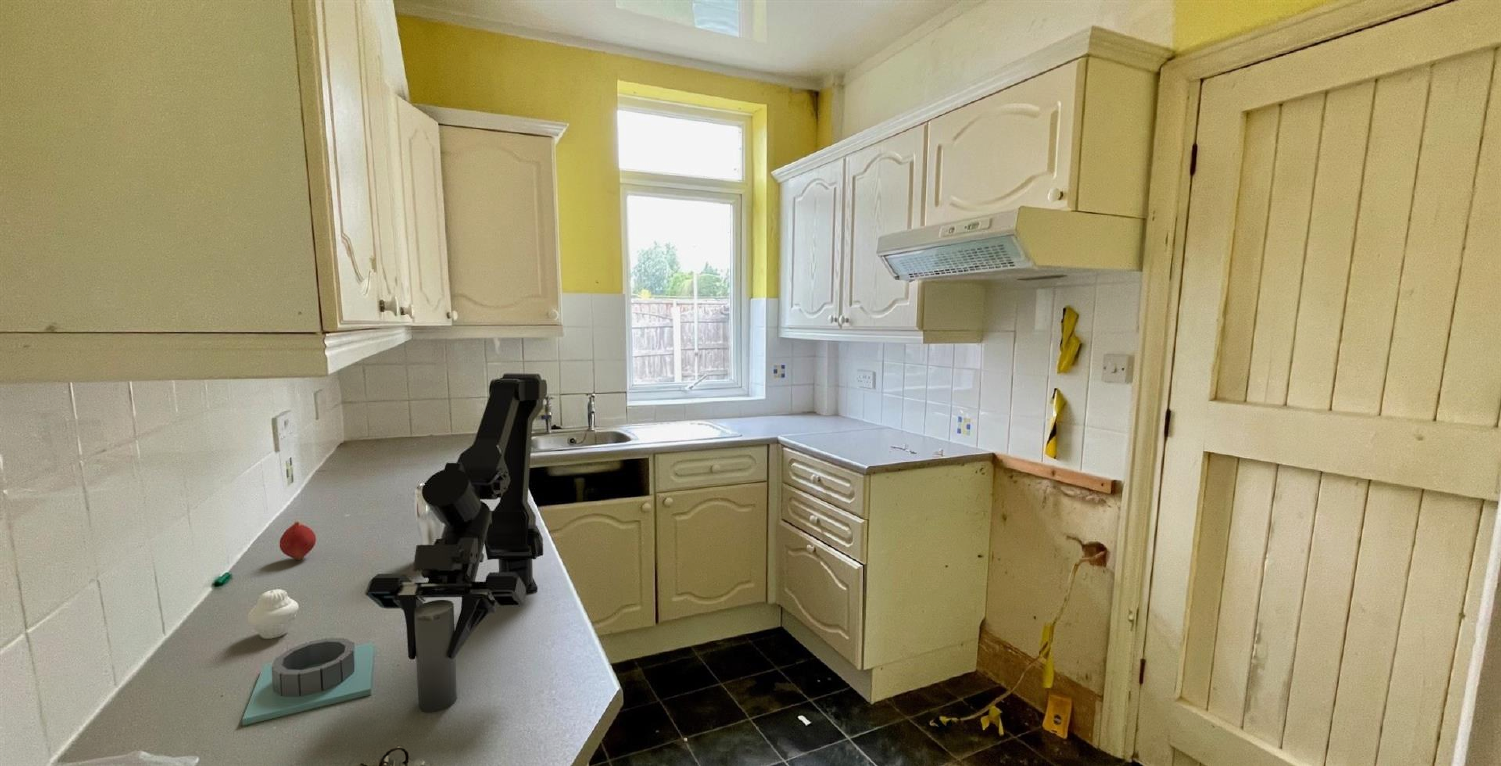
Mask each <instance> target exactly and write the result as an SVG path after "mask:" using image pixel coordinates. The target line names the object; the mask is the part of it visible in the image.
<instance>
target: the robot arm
mask: <svg viewBox="0 0 1501 766" xmlns="http://www.w3.org/2000/svg"><path fill="white" fill-rule="evenodd" d="M541 377H542V376H541V375H540V373H519V372H518V373H517V372H516V373H513V372H512V373H511V372H510V373H503V375H502V376H501V377H499V378H495V379H491V380H490V382H489V387H488V394H489V395H488V396H489V397H488V400H487V402H486V406H485V408H484V411H483V414H482V417H481V420H480V423H479V426H478V429H477V432H476V435H475V438H474V440H473V442H472V444H471V446H469V447H468V448H467V449H465V450H464V451H462V452H461V453H460V454H459V456H458V458H457V461H456V462H446V463H445V466H444V469H442V470H439V471H437V472H436V473H434V474H433V475H431V476H430V477H428V478H427V480H426V481H425V482H424V485H423V487H422V496H423V498H424V500H425V502H426V503H427V504H428V506H429V507H430V509H431V510H432V511H433V513H434V514H435V515H436V517H437V518H438V520H439V521H440V522H442V523H443V524H445V525H444V529H443V532H442V536H441V539H436V541H435V542H434V545H421V544H418V545H416V546H415V553H414V560H413V565H412V571H413V572H417V571H418V572H419V571H420V572H421V573H420V575H421V577H422V578H424V579H428V580H427V582H423V581H422V582H416V581H412V580H411V579H410V577H408V576H407V574H405V573H377V574H376V575H375V576H373V577H372V578H371V579H370V580H369V581H368V584H367V588H366V590H365V592H364V593H365V595H366V596H367V597H368V598H370V600H372V601H373V602H374V603H375V604H377V606H378V607H380V608H382V609H390V610H391V609H395V610H396V609H400V610H401V611H403V614H404V618H405V624H406V625H405V626H406V641H407V654H408V655H407V656H408V659H409V660H411V661H414V660H416V641H415V616H414V611H415V609H416V608H417V607H418V606H420V605H422V604H424V603H426V602H427V599H428V598H431V599H432V598H433V599H434V598H461V607H460V612H459V615H458V619H457V622H456V624H455V627H454V630H455V631H454V634H453V637H452V640H451V644H450V649H449V654H448V657H449V658H450V659H453V658H454V657H455V658H456V656H457V655H458V653H459V652H460V651H461V649H462V647H463V646H464V644H466V642H467V640H468V639H469V638H470V636H471V635H472V633H473V632H474V631H475V629H476V628H477V627H478V626H479V625H480V624H481V622H483V620H485V618H486V617H487V616H488V614H494V613H495V612H496V611H497V607H496V602H497V604H498V605H499V606H500V607H501V608H502V607H505V608H506V607H507V608H508V607H522V606H524V604H525V599H526V595H527V594H528V593H532V592H537V591H538V589H539V588H538V585H537V583H536V581H535V579H534V577H533V575H534V573H533V572H534V571H533V570H534V569H533V566H534V565H533V560H537V559H538V557H542V556H543V555H544V538H543V535H542V534H541V532H540V529H539V527H538V525H537V524H536V523H537V521H536V520H537V518H536V514H535V512H534V511H533V509H532V506H531V505H530V504H529V501H528V500H529V485H530V484H529V482H530V468H531V466H530V465H531V456H532V455H531V454H532V453H531V452H532V437H533V423H534V421H535V420H536V418H537V417H538V416H539V414H540V413H541V411H542V410H543V407H544V400H545V399H546V398H547V396H548V395H547V393H548V384H547V380H546V379H542V378H541ZM497 499H499V502H498V504H496V506H495V508H494V509H493V510H491V509H490V507H489V506H488V504H487V503H485V502H484V500H485V501H486V500H487V501H488V500H489V501H491V500H494V501H495V500H497ZM484 550H485V554H486V558H487V559H486V560H488V561H491V560H498V572H497V571H496V572H495V571H493V572H492V571H491V572H489V573H488V574H487V575H486V577H485V581H476V578H477V576H478V570H479V566H480V564H481V563H483V562H484V558H485V555H484V553H483V551H484Z"/></svg>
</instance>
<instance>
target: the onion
mask: <svg viewBox="0 0 1501 766" xmlns="http://www.w3.org/2000/svg"><path fill="white" fill-rule="evenodd" d="M279 539H280V540H279V549H280V551H281V552H282V553H283V554H284V555H285V556H287V557H289V558H291V559H295V560H296V561H300V560H302V559H304V558H305V556H307V555H308V554H309V553H310V552H311V551H312V550H313V548H314V546H315V545H316V542H317V541H316V540H317V538H316V534H315V532H314V531H313V530H312V529H311V528H310V527H308V526H306V525H304V524H302V523H301V521H300V520H296V521H295V522H294V523H293V524H292V525H291V526H290V527H288V528H287V529H286V530H285V531H284V532H283V534H282V535H281V537H280V538H279Z"/></svg>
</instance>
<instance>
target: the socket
mask: <svg viewBox="0 0 1501 766" xmlns="http://www.w3.org/2000/svg"><path fill="white" fill-rule="evenodd" d="M375 649H376V644H375V642H368V643H363V644H360V645H359V644H358V645H355V643H354V642H353V641H351V640H349V639H348V638H344V637H343V638H342V637H329V638H328V637H327V638H321V639H316V640H311V641H308V642H304V643H302V644H299V645H296V646H294V647H292V648H289V649H287V650H285V651H284V652H283V653H282V654H280V655H278V656H277V657H276V658H274V660H273V662H272V663H267V664H264V665H263V666H262V669H261V672H260V674H259V676H258V679H257V682H256V684H255V687H254V689H253V691H252V694H251V696H250V699H249V701H248V705H247V706H246V710H245V712H244V714H243V717H242V726H246V725H250V724H255V723H258V722H259V723H260V722H263V721H267V720H271V719H277V718H279V717H284V716H288V715H291V714H296V713H300V712H304V711H308V710H312V709H317V708H321V707H325V706H329V705H334V704H336V703H337V704H338V703H341V702H345V701H350V700H354V699H359V698H362V697H367V696H370V695H371V694H372V684H373V672H374V663H375V662H374V661H375Z"/></svg>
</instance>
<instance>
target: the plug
mask: <svg viewBox="0 0 1501 766" xmlns="http://www.w3.org/2000/svg"><path fill="white" fill-rule="evenodd" d="M414 616H415V641H416V657H415V662H416V663H415V664H416V666H415V667H416V683H417V688H416V689H417V707H418V710H419V711H421V712H424V713H436V712H440V711H442V710H445V709H447V708H449V707H450V706H452V705H453V704H454V703H455V702H456V700H457V695H458V694H457V670H456V669H457V666H456V661H457V660H456V656H455V657H454V658H453V659H450V658H449V657H448V654H449V649H450V644H451V640H452V637H453V634H454V631H455V605H454V602H453V601H451V600H448V599H436V600H431V601H426V602H425V603H424V604H422V605H420V606H418V607H417V608H416V609H415V611H414Z"/></svg>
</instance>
